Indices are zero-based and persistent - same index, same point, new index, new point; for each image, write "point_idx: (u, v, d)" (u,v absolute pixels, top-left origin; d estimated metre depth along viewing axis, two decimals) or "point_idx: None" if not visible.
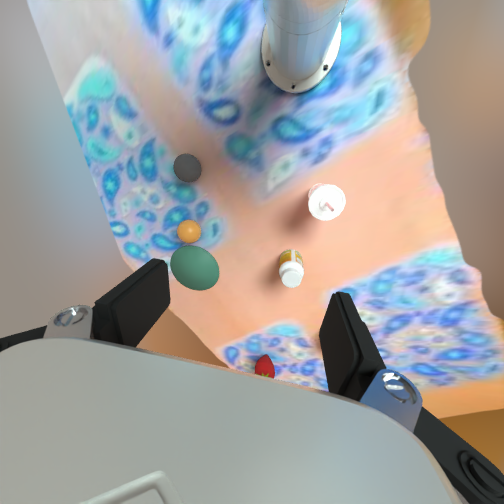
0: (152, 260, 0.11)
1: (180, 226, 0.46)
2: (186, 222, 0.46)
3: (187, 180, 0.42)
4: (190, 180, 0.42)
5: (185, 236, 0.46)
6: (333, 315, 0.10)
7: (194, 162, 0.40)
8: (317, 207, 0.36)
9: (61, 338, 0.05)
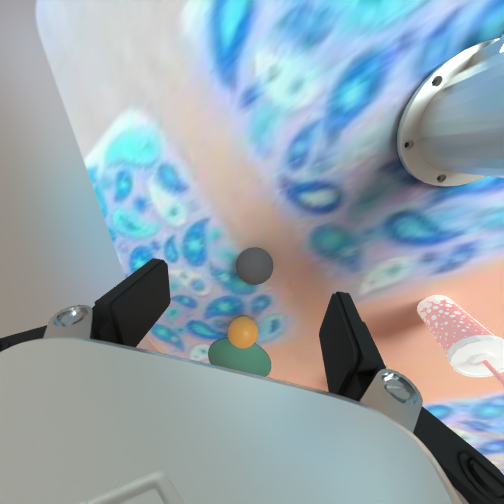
0: (152, 260, 0.11)
1: (234, 331, 0.35)
2: (242, 326, 0.35)
3: (254, 284, 0.30)
4: None
5: (240, 346, 0.34)
6: (333, 315, 0.10)
7: (268, 264, 0.28)
8: (464, 361, 0.24)
9: (61, 338, 0.05)
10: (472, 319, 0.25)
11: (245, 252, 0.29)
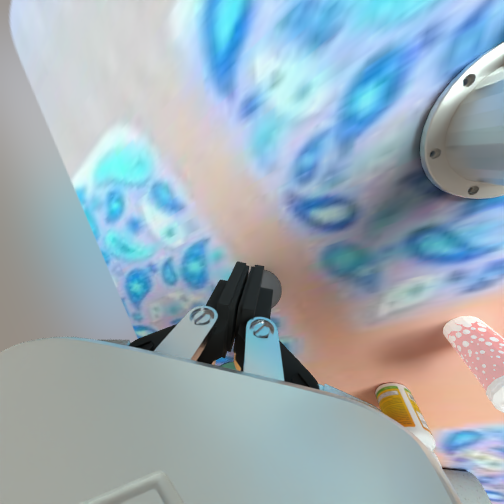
0: (238, 263, 0.11)
1: None
2: None
3: None
4: None
5: None
6: None
7: (276, 289, 0.26)
8: None
9: (61, 338, 0.05)
10: None
11: None
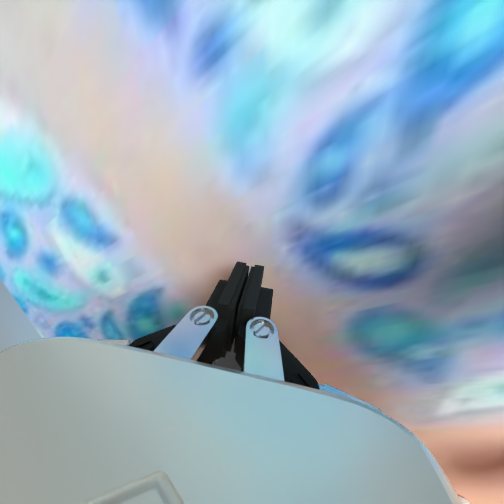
0: (238, 263, 0.11)
1: None
2: None
3: None
4: None
5: None
6: None
7: None
8: None
9: (61, 338, 0.05)
10: None
11: (225, 362, 0.15)
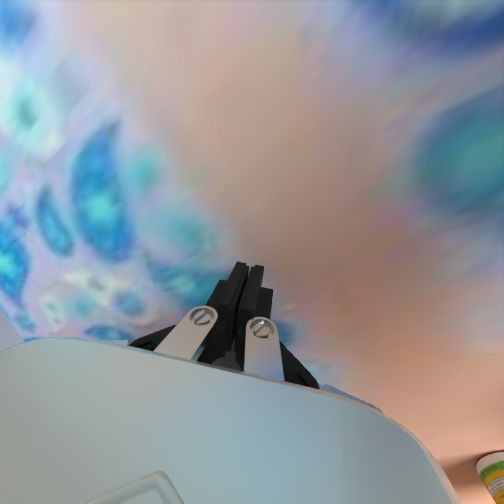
0: (238, 263, 0.11)
1: None
2: None
3: None
4: None
5: None
6: None
7: None
8: None
9: (61, 338, 0.05)
10: None
11: None
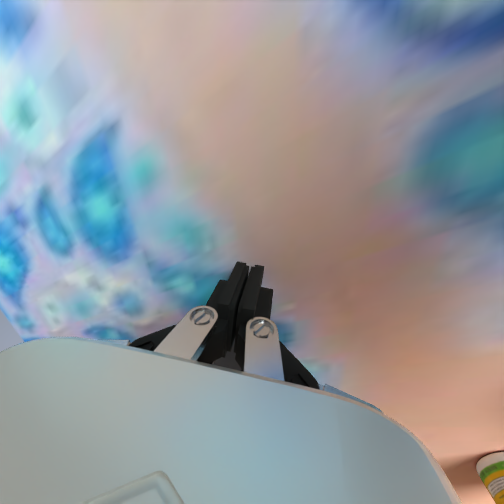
0: (238, 263, 0.11)
1: None
2: None
3: None
4: None
5: None
6: None
7: None
8: None
9: (61, 338, 0.05)
10: None
11: None
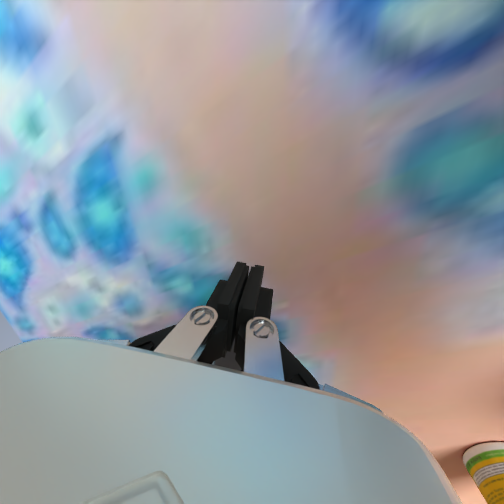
0: (238, 263, 0.11)
1: None
2: None
3: None
4: None
5: None
6: None
7: None
8: None
9: (61, 338, 0.05)
10: None
11: None
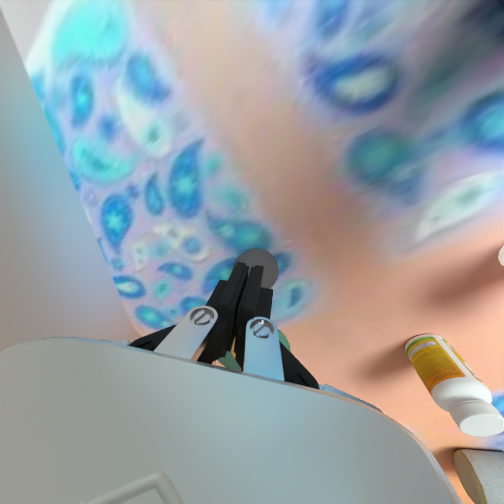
0: (238, 263, 0.11)
1: None
2: None
3: None
4: None
5: None
6: None
7: None
8: None
9: (61, 338, 0.05)
10: None
11: None
